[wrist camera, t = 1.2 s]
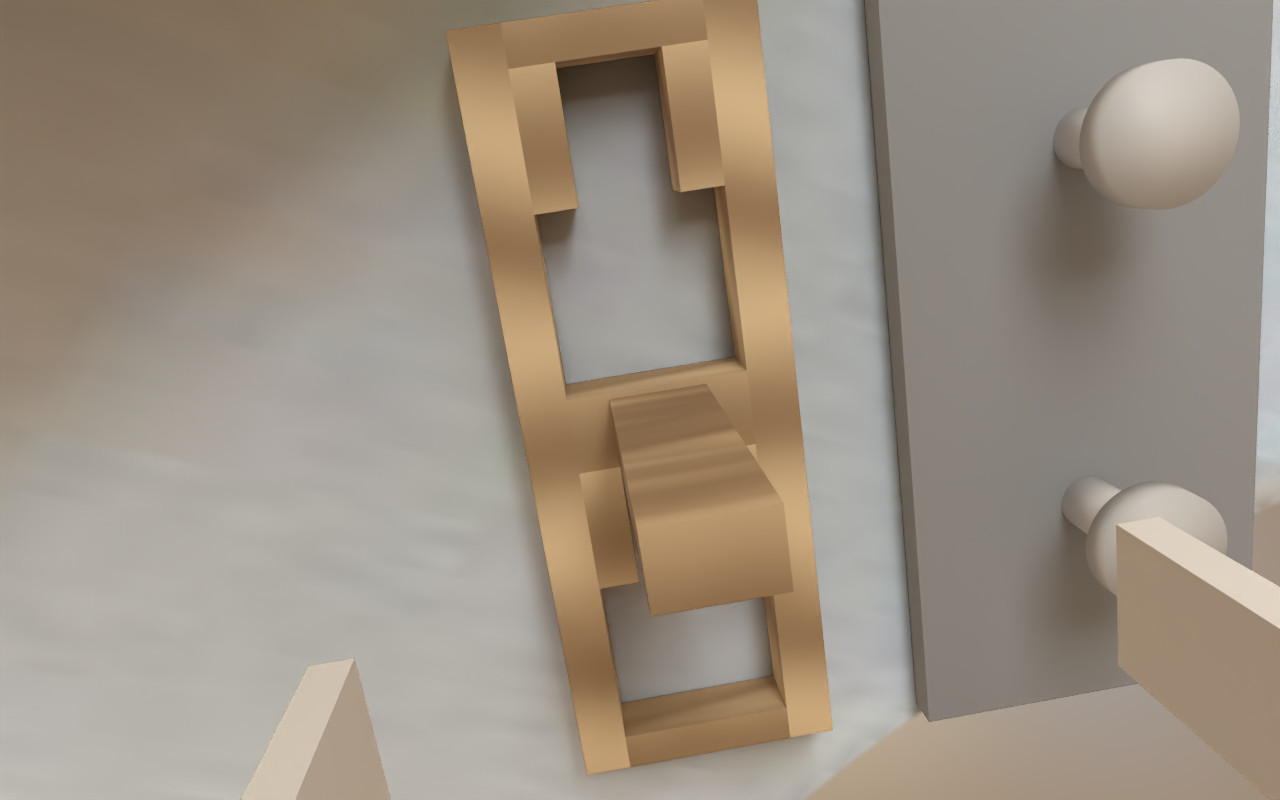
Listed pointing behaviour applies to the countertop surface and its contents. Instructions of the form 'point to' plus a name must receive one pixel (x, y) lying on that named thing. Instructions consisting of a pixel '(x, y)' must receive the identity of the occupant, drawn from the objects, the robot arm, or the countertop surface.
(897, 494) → the countertop surface
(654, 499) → the ball track frame
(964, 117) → the board
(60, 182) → the countertop surface
